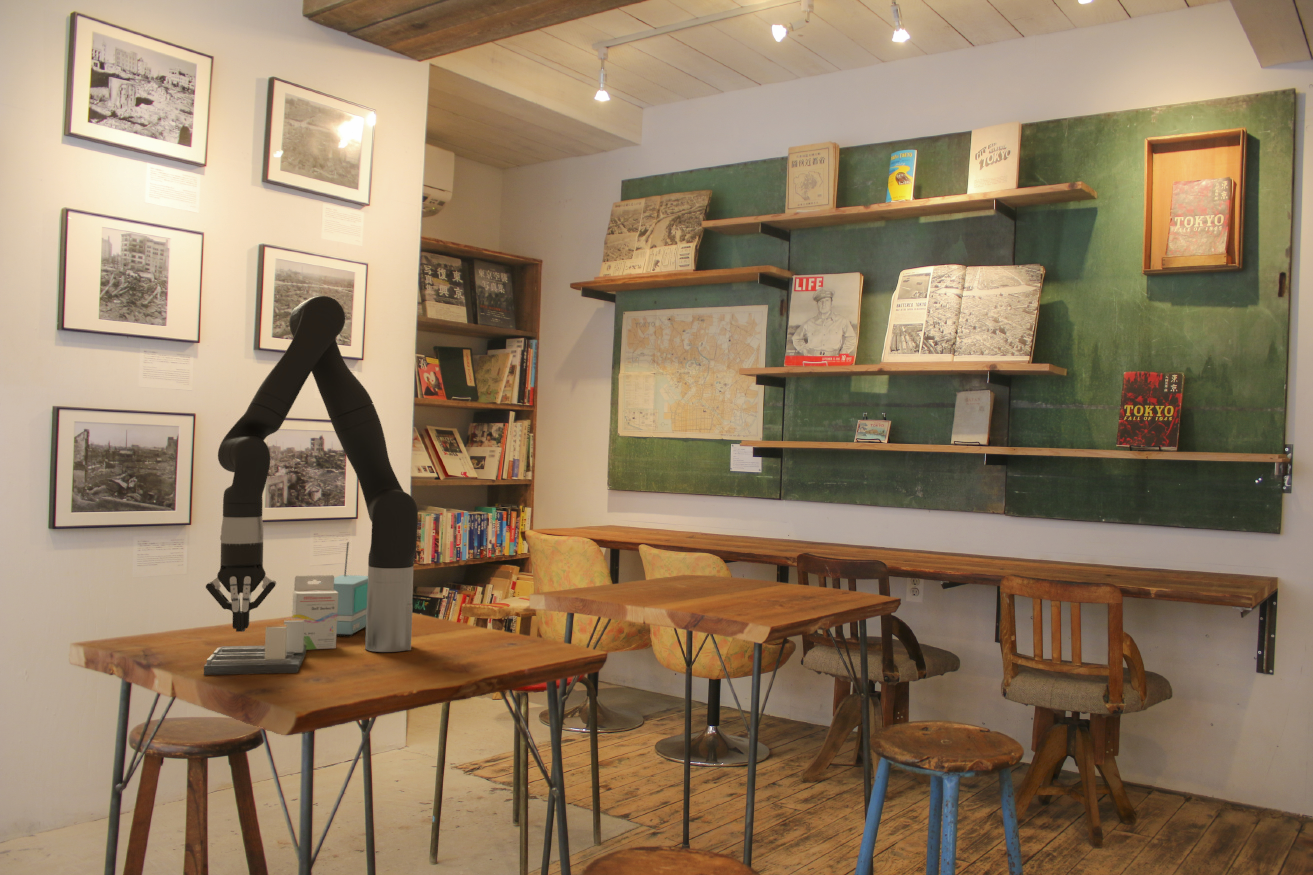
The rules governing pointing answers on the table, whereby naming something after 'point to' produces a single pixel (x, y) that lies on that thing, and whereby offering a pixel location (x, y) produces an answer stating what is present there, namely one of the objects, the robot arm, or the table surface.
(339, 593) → the radio
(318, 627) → the ink box
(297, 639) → the fader far
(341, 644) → the table surface
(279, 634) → the fader near
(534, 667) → the table surface
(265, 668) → the gray slotted tray
